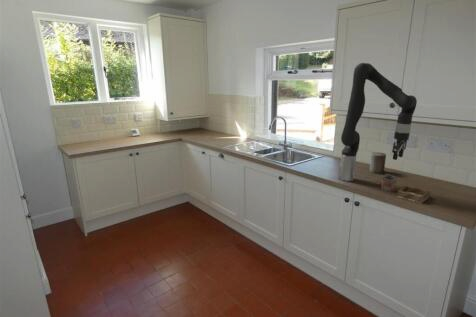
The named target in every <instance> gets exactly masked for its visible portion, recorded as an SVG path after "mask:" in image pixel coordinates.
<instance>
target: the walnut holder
mask: <svg viewBox="0 0 476 317" xmlns="http://www.w3.org/2000/svg"><path fill="white" fill-rule="evenodd" d="M430 193H431V191H430V190H426V189H421V188H417V187H414V186H410V185H409V186H408V185H404V186H402V187H401V188H399V189H398V190H397V192H396V197H397V198H401V199H404V200H407V199H408V201H411V200H412V202H415V201H416V202H415V203H418V202H419V203H420V204H423V203H424V202H425V201H426V200H428V198H429V197H430V195H431V194H430ZM422 202H423V203H422Z"/></svg>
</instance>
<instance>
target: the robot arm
mask: <svg viewBox="0 0 476 317" xmlns="http://www.w3.org/2000/svg"><path fill="white" fill-rule="evenodd" d="M352 76H353V77H352V88H351V92H350V98H349V103H348V107H347V113H346V116H345V117H346V118H345V123H344V126H343V130H342V133H341V137H340V141H341V143H342V144H343V145H344V147H343V149H342V150H341V155H340V156H341V158H340V164H339V166H338V175H337V177H338V178H337V179H339V178H340V179H339V180H341V181H343V180H345V181H344V182H352V181H354V180H355V171H356V163H357V162H356V161H357V154H358V152H359V149H360V148H359V147H360V140H361V138H360V133H359V132H358V131H357V130H356V128H357V124H358V123H359V120H360V119H361V117H362V115H363V114H364V110H365V105H366V95H365V85H366V80H368V81H369V82H371V83H373V84H374V85H375V86H376V87H377V88H378V90H380V91H381V92H382V93H383V94H384V95H385V96H387V97H388V98H390V99H391V100H392V101H393V102H394V103H395V104H396V105H397V106H399V108H401V111H400V113H398V114H397V115H398V116H397V121H396V125H395V127H394V128H395V130H394V136H393V139H395V140H396V141H395V142H393V145H392V150H391V153H392V154H393V155H392V160H395V161H397V160H398V157H399V158H403V157H404V152H405V150H406V149H407V143H408V141H409V138H410V134H411V129H412V121H413V115H414V112H415V110H416V106H417V104H418V103H417V102H418V101H417V97H416V96H414V95H408V94H407V93H405V92H403V89H402V88H401V87H399V86H398V85H396V84H395V83H393V82H392V81H390V80H389V79H388V78H386V77H385V76H384V75H382V74H381V73H380V72H379V71H378V70H377V69H376V68H375V67H374V66H373V65H372V64H371V63H365V62H361V63H358V64H357V65H356V66H355V67H354V71H353V75H352Z"/></svg>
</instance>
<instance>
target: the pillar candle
mask: <svg viewBox="0 0 476 317" xmlns="http://www.w3.org/2000/svg"><path fill="white" fill-rule="evenodd" d="M386 160H387V154H386V153H384V152H376V151H375V152H371V156H370V164H369V172H370V173H372V174H379V175H380V174H385V165H386Z"/></svg>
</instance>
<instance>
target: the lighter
mask: <svg viewBox="0 0 476 317" xmlns="http://www.w3.org/2000/svg"><path fill="white" fill-rule="evenodd" d="M396 178H397V176H396V175H391V174H390V173H388V174H387V173H384V176H382V177H381V186H380V190H383V191H386V192H391V193H395V191H396V184H397V180H398V179H396Z"/></svg>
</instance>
